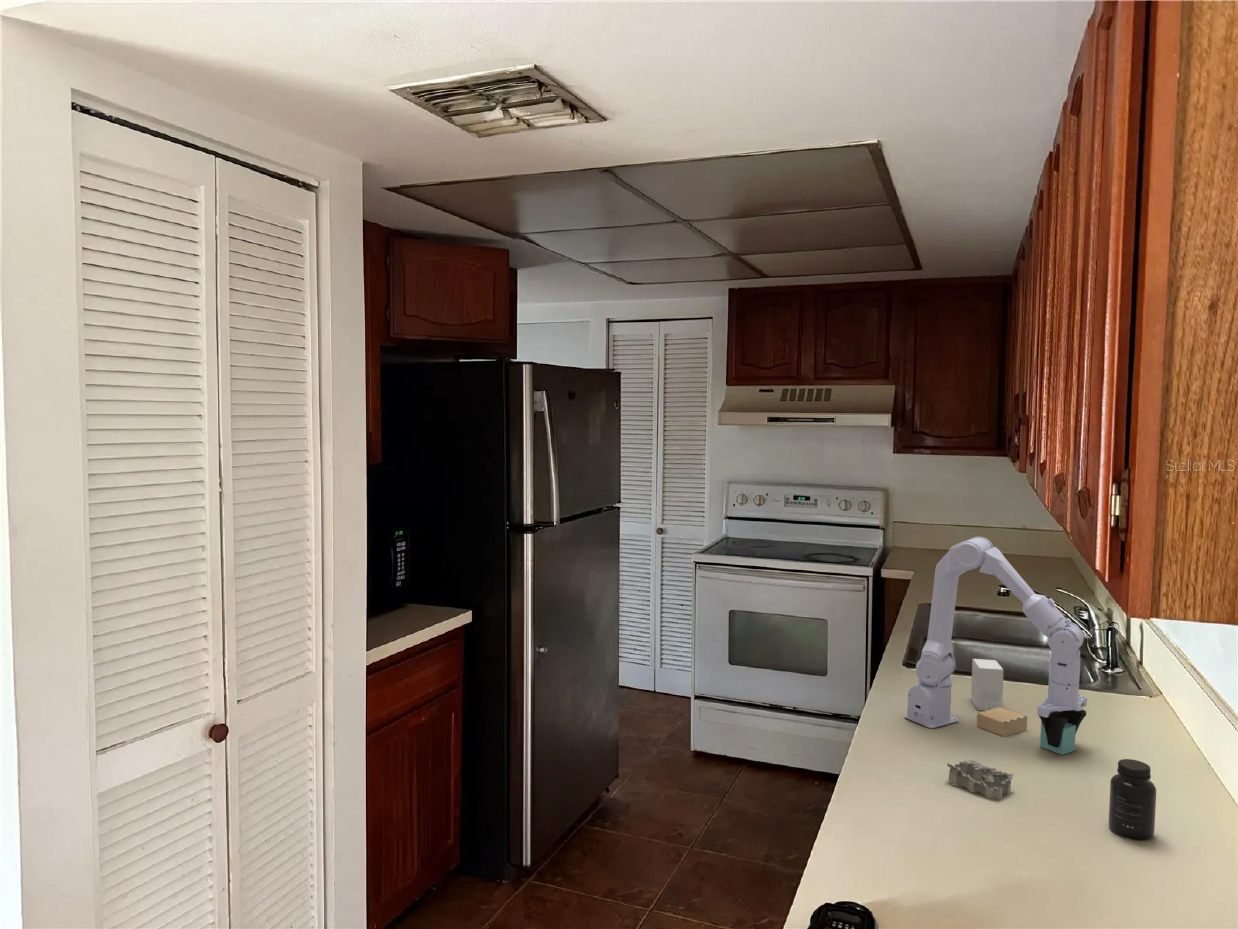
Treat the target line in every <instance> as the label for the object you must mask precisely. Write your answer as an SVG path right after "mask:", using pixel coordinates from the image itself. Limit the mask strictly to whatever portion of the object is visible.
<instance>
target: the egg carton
mask: <svg viewBox="0 0 1238 929" xmlns="http://www.w3.org/2000/svg"><path fill="white" fill-rule="evenodd" d="M946 766H947V767H948V768H950V769H949V771H948V772H949V774H948V781H949V780H950V781H951V782H952V783H951V782H950V781H949V782H950V783H951V785H952V784H954V785H956V786H955V787H965V788H967V791H968V790H970V791H969V792H971V791H973V792H972V793H980V792H981V793H980V794H983V795H985V798H987V799H990V800H992V799H996V800H1002V798H1003V794H1005V795H1009V794H1011V792H1012V791H1011V787H1012V785H1011V784H1012V780H1013V777H1014V774H1015V773H1007V772H1002V771H1001V770H997V768H996V767H990V766H987V765H983V764H982V763H980V762H978V761H976V760H973V759H968V760H964V761H959V763H955V765H953V764H952V763H947V764H946ZM972 779H973V780H972ZM974 780H975V781H974ZM954 785H953V786H954Z"/></svg>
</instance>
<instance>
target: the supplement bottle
mask: <svg viewBox="0 0 1238 929" xmlns="http://www.w3.org/2000/svg"><path fill="white" fill-rule="evenodd" d="M1117 762H1118V763H1117V769H1116V770H1117V771H1116V772H1117V773H1116V774H1114V775H1113V776H1112V777H1111V779H1110V781H1109V782H1110V786H1109V803H1108V804H1109V805H1108V826H1109V829H1110V830H1111V831H1112V832H1113V833H1114V834H1116V835H1118V836H1120V837H1122V838H1126V839H1128V838H1129V840H1133V841H1148V840H1151V839H1153V837H1154V835H1155V827H1156V807H1157V788H1156V786H1155V783H1153V781H1151V778H1152V774H1151V771H1152V770H1151V766H1150V765H1149V764H1147V763H1145V762H1143V761H1140V760H1136V759H1131V758H1124V759H1120V760H1118V761H1117Z"/></svg>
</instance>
